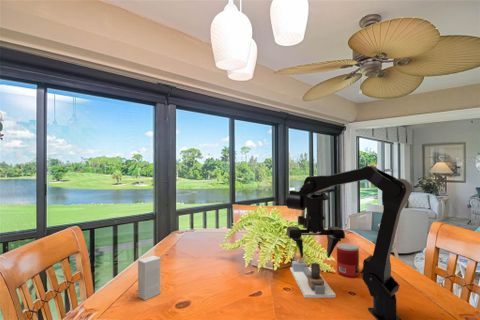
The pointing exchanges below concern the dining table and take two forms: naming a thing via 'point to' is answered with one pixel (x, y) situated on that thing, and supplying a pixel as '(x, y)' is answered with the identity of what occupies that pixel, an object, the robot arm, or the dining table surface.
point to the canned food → (348, 260)
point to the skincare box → (149, 277)
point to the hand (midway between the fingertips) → (315, 257)
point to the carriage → (315, 276)
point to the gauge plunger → (298, 256)
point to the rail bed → (300, 276)
